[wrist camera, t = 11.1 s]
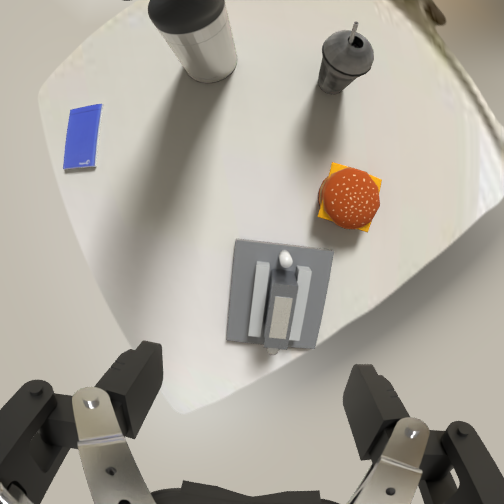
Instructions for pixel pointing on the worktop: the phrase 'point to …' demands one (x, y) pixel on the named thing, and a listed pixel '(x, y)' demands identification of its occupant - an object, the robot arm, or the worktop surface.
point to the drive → (280, 309)
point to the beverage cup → (344, 60)
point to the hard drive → (83, 137)
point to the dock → (257, 288)
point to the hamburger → (349, 197)
